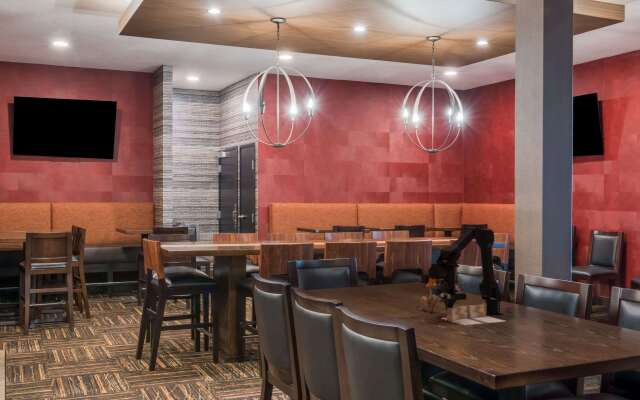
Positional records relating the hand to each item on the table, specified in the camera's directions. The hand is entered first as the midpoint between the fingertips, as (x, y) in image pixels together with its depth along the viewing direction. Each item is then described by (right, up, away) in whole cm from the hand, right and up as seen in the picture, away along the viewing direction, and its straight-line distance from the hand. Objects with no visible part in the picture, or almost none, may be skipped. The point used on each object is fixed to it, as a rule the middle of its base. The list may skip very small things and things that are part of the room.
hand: (448, 313), depth 304 cm
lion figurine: (-5, -3, +23) cm, 24 cm away
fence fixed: (+14, -3, +7) cm, 16 cm away
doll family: (+5, -3, +53) cm, 54 cm away
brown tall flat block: (+5, -3, +1) cm, 5 cm away
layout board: (+11, -3, 0) cm, 11 cm away
